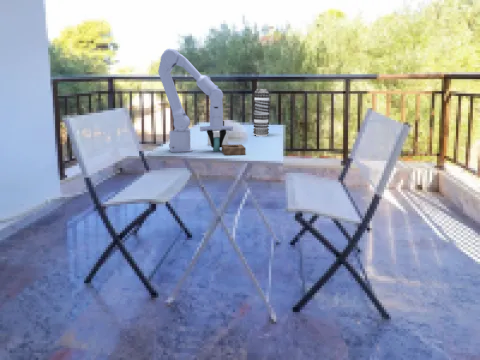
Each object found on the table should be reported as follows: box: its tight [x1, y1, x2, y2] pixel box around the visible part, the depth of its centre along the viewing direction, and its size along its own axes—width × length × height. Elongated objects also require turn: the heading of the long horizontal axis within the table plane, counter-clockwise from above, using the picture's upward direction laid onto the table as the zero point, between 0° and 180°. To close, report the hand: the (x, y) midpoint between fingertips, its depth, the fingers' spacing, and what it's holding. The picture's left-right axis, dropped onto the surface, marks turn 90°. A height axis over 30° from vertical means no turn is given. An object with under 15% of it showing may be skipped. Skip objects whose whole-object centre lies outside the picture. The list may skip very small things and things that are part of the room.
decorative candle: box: [252, 88, 271, 137], centre depth 255 cm, size 9×9×25 cm
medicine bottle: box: [207, 120, 229, 146], centre depth 225 cm, size 7×7×12 cm
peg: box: [212, 137, 221, 153], centre depth 210 cm, size 3×3×6 cm
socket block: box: [221, 143, 247, 156], centre depth 205 cm, size 9×9×3 cm
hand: (216, 147), depth 210 cm, fingers open, 3 cm apart
